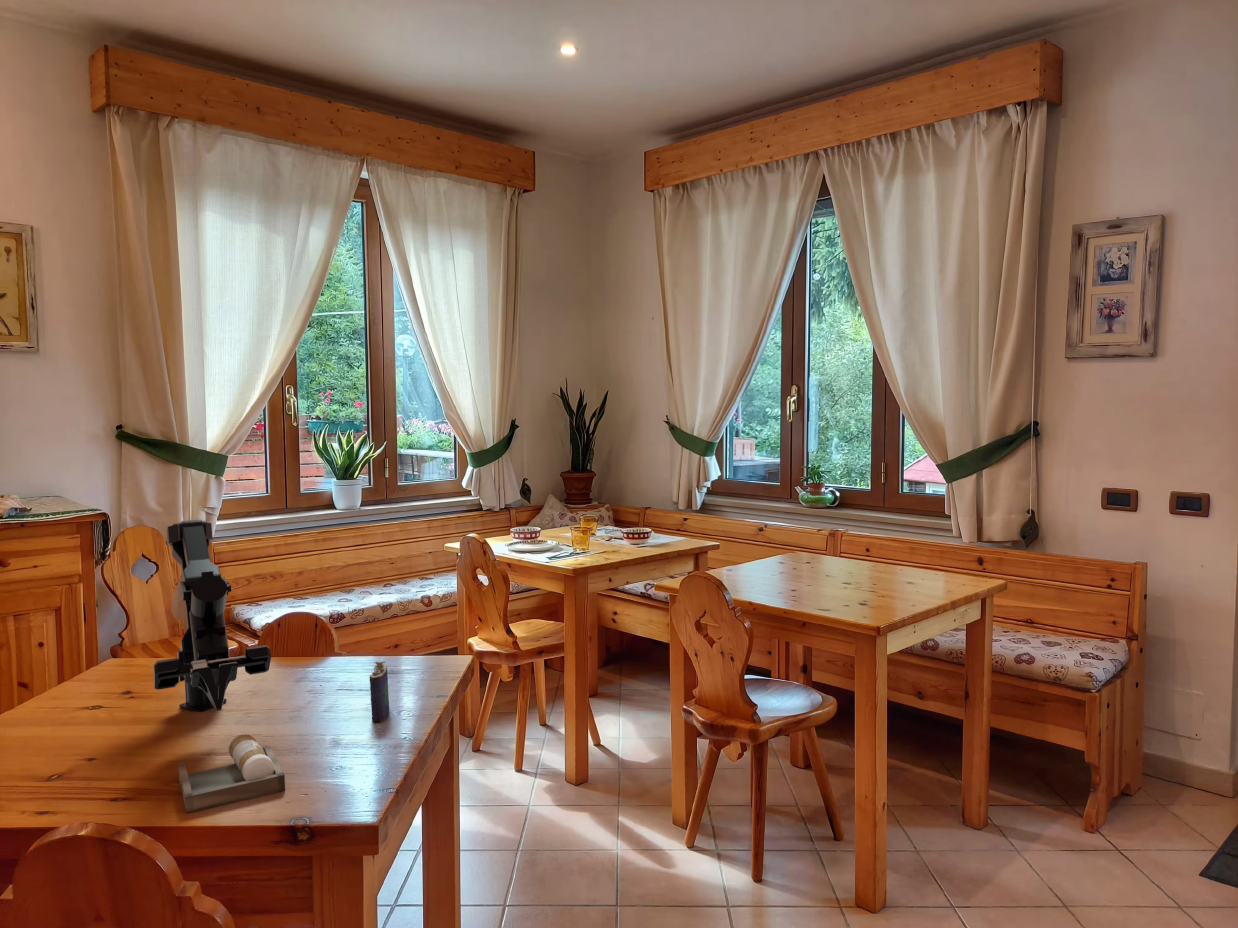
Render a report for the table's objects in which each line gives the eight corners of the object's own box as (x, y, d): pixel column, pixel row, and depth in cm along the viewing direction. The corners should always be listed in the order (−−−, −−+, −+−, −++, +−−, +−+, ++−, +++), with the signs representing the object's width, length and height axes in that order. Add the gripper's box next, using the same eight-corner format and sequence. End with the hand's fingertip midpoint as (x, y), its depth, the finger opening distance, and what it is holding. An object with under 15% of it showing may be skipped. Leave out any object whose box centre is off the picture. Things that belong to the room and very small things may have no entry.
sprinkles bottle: (259, 752, 149) (278, 778, 138) (231, 764, 146) (248, 791, 135) (252, 728, 148) (270, 752, 137) (224, 739, 146) (241, 765, 135)
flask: (376, 707, 173) (374, 654, 172) (392, 706, 173) (390, 653, 172) (370, 724, 164) (368, 668, 163) (386, 723, 164) (384, 667, 163)
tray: (178, 778, 141) (178, 763, 141) (270, 758, 148) (269, 744, 148) (186, 813, 129) (185, 796, 128) (285, 790, 136) (284, 774, 136)
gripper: (259, 646, 168) (271, 720, 159) (151, 662, 158) (157, 741, 150) (264, 616, 161) (277, 691, 152) (151, 630, 151) (158, 712, 142)
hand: (219, 709), depth 149 cm, fingers closed
